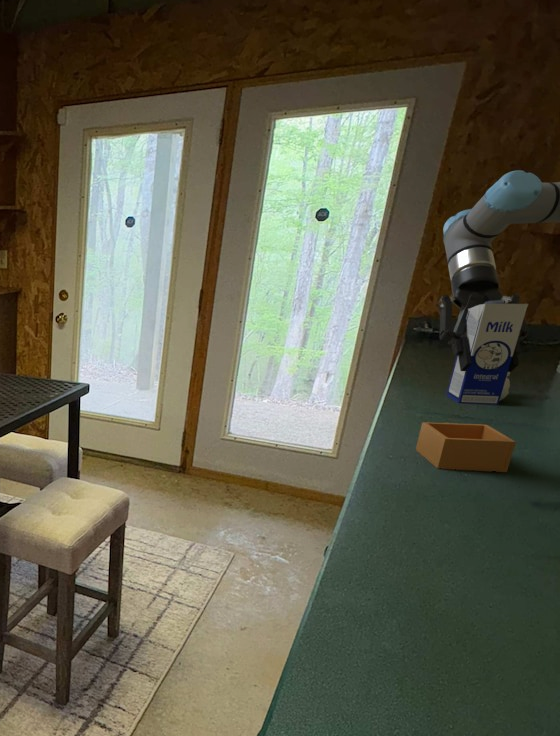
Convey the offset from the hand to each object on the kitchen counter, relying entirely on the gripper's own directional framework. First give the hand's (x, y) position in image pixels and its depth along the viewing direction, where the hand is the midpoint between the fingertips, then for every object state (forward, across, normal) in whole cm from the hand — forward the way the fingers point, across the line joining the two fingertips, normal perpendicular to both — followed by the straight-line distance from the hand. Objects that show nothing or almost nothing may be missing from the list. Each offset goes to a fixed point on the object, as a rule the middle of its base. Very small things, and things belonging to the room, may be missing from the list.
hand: (489, 367), depth 123 cm
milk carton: (+3, 0, -8) cm, 8 cm away
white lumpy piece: (-32, -33, -65) cm, 79 cm away
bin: (+10, -3, -22) cm, 25 cm away
